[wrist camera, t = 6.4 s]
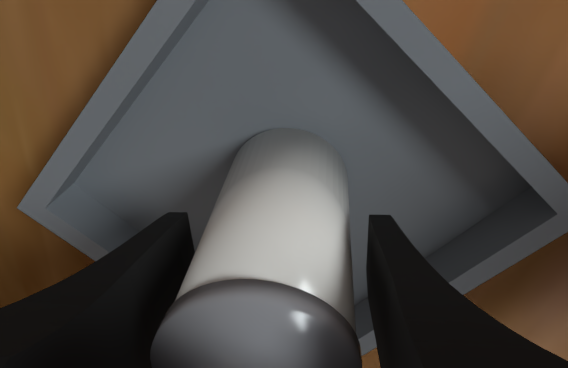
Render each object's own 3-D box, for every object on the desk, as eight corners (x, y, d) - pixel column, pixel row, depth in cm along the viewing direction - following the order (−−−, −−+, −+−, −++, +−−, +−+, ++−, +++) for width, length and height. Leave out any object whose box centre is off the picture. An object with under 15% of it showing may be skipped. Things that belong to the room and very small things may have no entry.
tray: (559, 177, 15) (596, 214, 13) (298, 351, 21) (295, 396, 19) (274, -135, 12) (261, -155, 10) (55, 176, 18) (16, 207, 16)
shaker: (376, 186, 16) (408, 391, 9) (287, 247, 18) (258, 452, 11) (289, 99, 14) (249, 264, 7) (203, 176, 16) (109, 362, 9)
